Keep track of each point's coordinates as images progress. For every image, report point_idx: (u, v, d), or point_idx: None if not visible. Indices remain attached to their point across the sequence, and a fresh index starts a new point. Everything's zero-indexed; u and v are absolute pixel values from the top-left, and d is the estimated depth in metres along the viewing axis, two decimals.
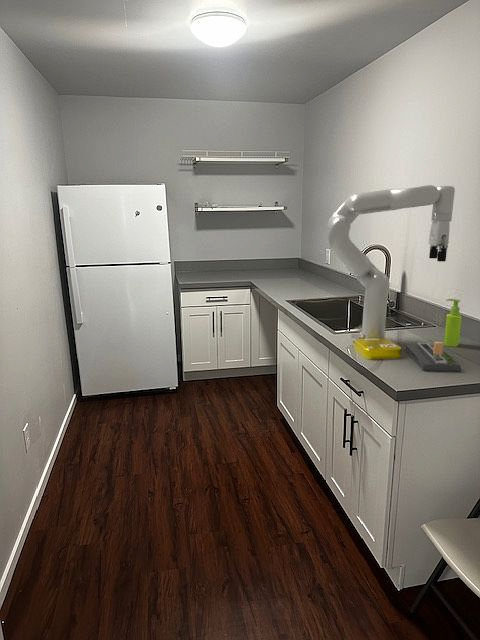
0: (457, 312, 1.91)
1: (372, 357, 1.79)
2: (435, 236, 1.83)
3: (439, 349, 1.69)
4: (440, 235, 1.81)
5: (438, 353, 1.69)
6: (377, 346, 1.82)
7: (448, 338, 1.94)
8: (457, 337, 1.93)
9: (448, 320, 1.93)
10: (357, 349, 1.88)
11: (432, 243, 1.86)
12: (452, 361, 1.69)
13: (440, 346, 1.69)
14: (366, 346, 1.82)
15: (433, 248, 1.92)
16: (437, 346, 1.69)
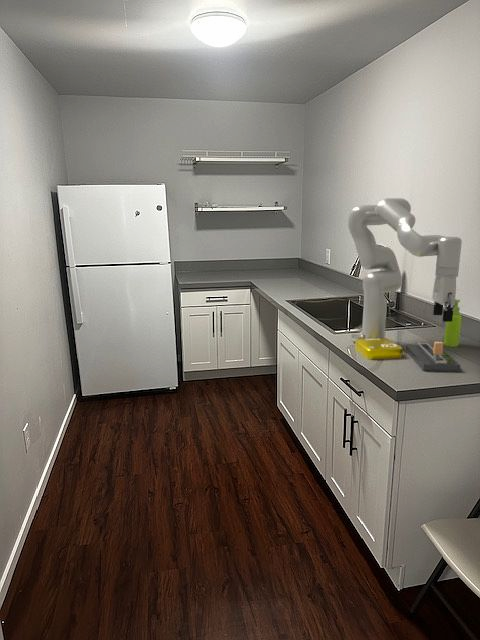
0: (457, 312, 1.91)
1: (373, 357, 1.79)
2: (440, 293, 1.61)
3: (439, 349, 1.69)
4: (446, 292, 1.59)
5: (438, 353, 1.69)
6: (379, 346, 1.82)
7: (448, 338, 1.94)
8: (457, 337, 1.93)
9: None
10: (358, 349, 1.88)
11: (436, 300, 1.64)
12: (452, 361, 1.69)
13: (440, 346, 1.69)
14: (367, 346, 1.82)
15: (437, 304, 1.70)
16: (437, 346, 1.69)
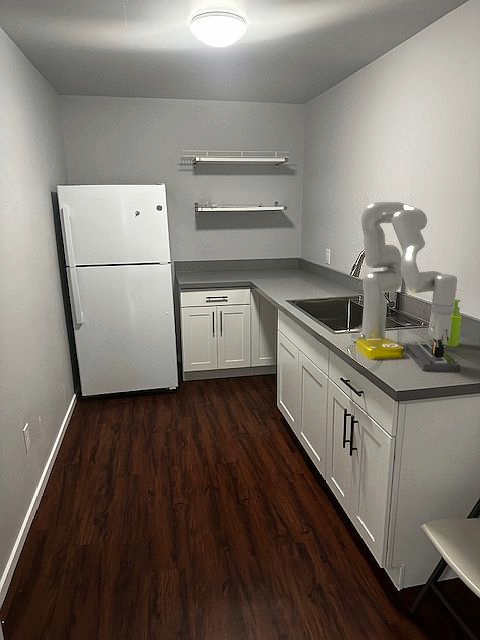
0: (457, 312, 1.91)
1: (375, 357, 1.79)
2: (435, 329, 1.65)
3: None
4: (441, 329, 1.63)
5: None
6: (380, 346, 1.82)
7: None
8: (457, 337, 1.93)
9: None
10: (359, 349, 1.88)
11: (432, 335, 1.68)
12: (452, 361, 1.69)
13: None
14: (368, 346, 1.82)
15: None
16: None
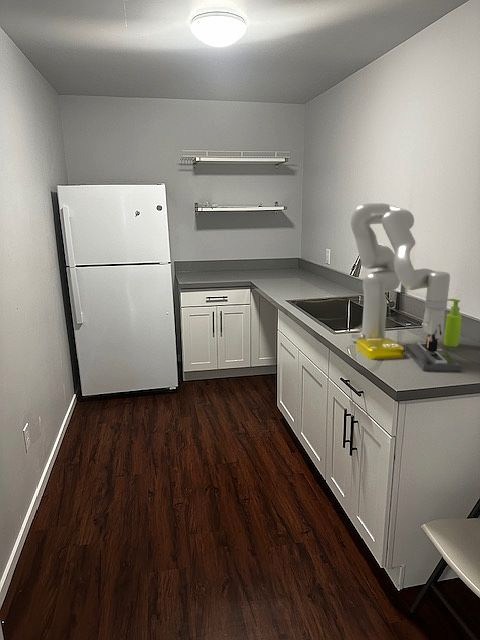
0: (457, 312, 1.91)
1: (375, 357, 1.79)
2: (429, 324, 1.71)
3: None
4: (434, 324, 1.69)
5: None
6: (380, 346, 1.82)
7: (448, 338, 1.94)
8: (457, 337, 1.93)
9: (448, 320, 1.93)
10: (360, 349, 1.88)
11: (426, 330, 1.75)
12: (452, 361, 1.69)
13: None
14: (369, 346, 1.82)
15: None
16: None
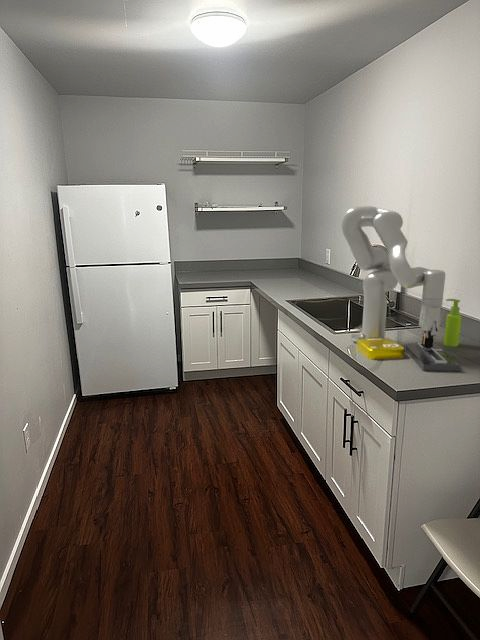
0: (457, 312, 1.91)
1: (375, 357, 1.79)
2: (425, 321, 1.76)
3: None
4: (430, 321, 1.74)
5: None
6: (380, 347, 1.82)
7: (448, 338, 1.94)
8: (457, 337, 1.93)
9: (448, 320, 1.93)
10: (360, 349, 1.88)
11: (422, 327, 1.79)
12: (452, 361, 1.69)
13: None
14: (369, 346, 1.82)
15: None
16: None
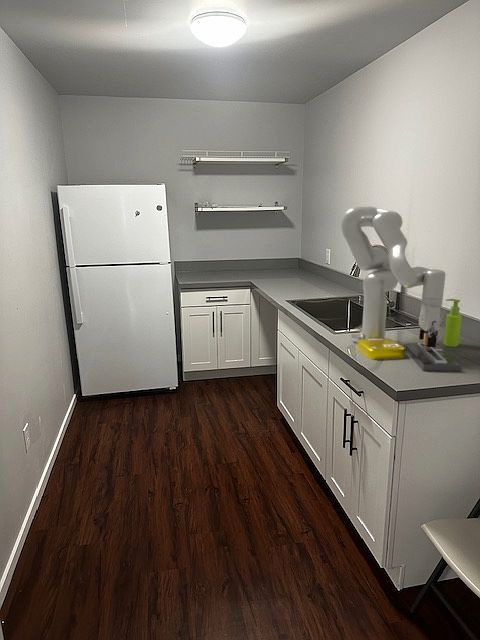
0: (457, 312, 1.91)
1: (376, 357, 1.79)
2: (425, 321, 1.76)
3: None
4: (430, 321, 1.74)
5: None
6: (381, 347, 1.82)
7: (448, 338, 1.94)
8: (457, 337, 1.93)
9: (448, 320, 1.93)
10: (360, 349, 1.88)
11: (422, 327, 1.79)
12: (452, 361, 1.69)
13: None
14: (369, 346, 1.82)
15: (423, 329, 1.85)
16: (427, 337, 1.80)
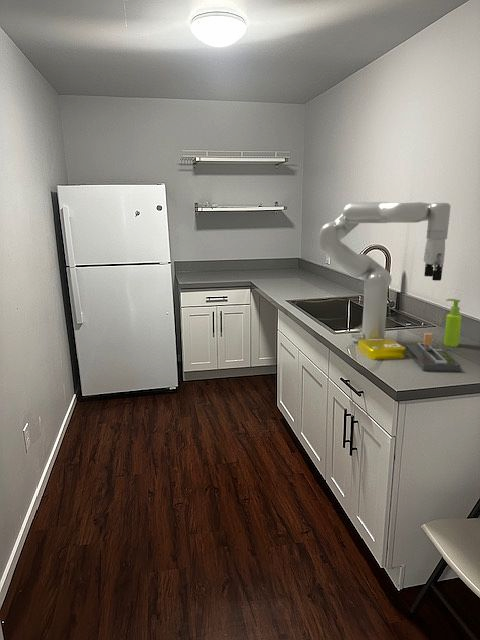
0: (457, 312, 1.91)
1: (376, 357, 1.79)
2: (430, 254, 1.77)
3: (429, 340, 1.80)
4: (435, 253, 1.75)
5: (428, 344, 1.80)
6: (382, 347, 1.81)
7: (448, 338, 1.94)
8: (457, 337, 1.93)
9: (448, 320, 1.93)
10: (361, 349, 1.87)
11: (427, 261, 1.80)
12: (452, 361, 1.69)
13: (430, 337, 1.80)
14: (370, 346, 1.82)
15: (428, 266, 1.86)
16: (427, 337, 1.80)
